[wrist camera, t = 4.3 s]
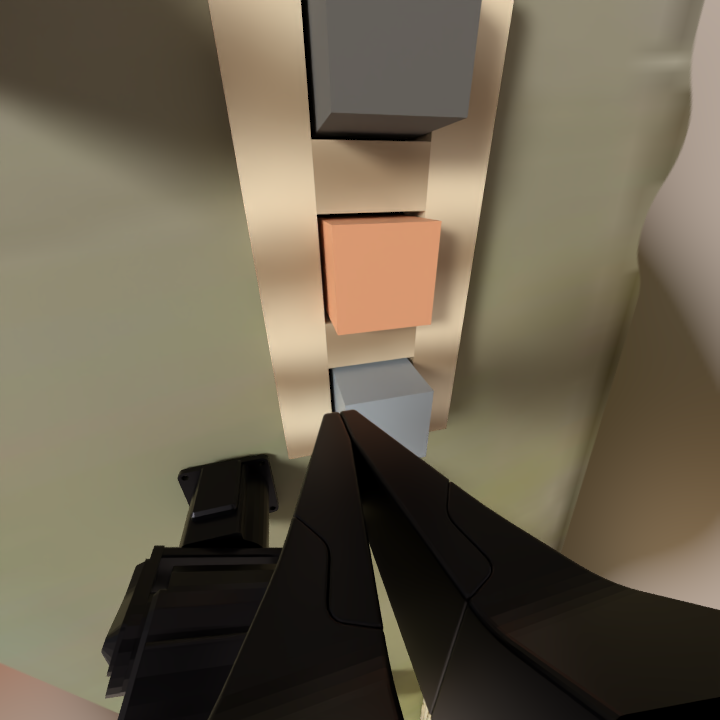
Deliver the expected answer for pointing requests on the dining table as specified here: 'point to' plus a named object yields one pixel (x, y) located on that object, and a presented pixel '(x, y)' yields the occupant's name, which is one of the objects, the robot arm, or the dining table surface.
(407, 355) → the birch panel
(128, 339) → the dining table surface
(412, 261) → the orange cube
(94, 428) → the dining table surface
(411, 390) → the blue-grey cube
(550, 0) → the dining table surface
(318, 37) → the dark grey cube
